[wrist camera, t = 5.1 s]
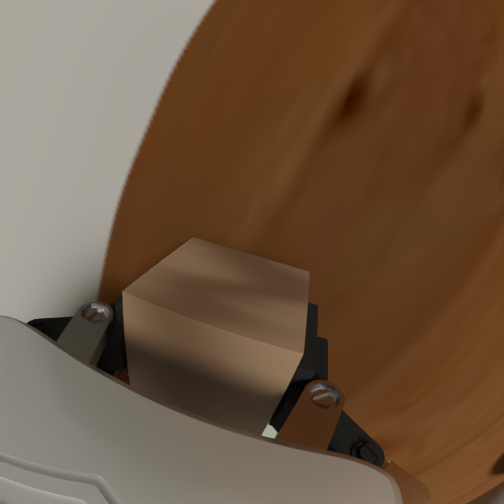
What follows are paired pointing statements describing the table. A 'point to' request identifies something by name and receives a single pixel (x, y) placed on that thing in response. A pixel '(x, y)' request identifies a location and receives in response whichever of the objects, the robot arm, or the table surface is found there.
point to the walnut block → (217, 332)
